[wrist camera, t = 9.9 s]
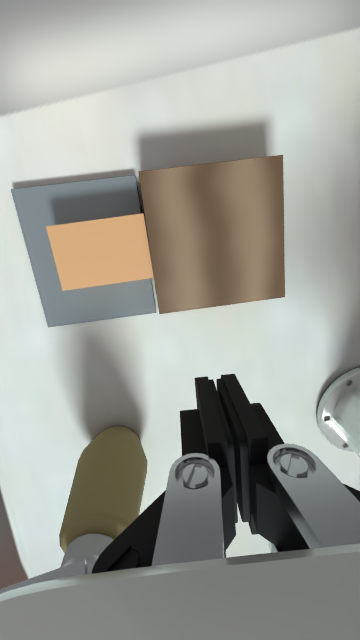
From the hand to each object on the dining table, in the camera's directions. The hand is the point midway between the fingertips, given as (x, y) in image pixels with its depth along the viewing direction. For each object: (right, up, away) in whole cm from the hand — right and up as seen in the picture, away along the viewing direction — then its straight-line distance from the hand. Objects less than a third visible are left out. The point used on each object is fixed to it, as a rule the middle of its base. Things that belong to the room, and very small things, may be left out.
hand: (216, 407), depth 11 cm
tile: (-9, +11, +16) cm, 22 cm away
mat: (-11, +11, +17) cm, 23 cm away
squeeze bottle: (-10, -12, +23) cm, 28 cm away
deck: (+2, +12, +17) cm, 21 cm away
